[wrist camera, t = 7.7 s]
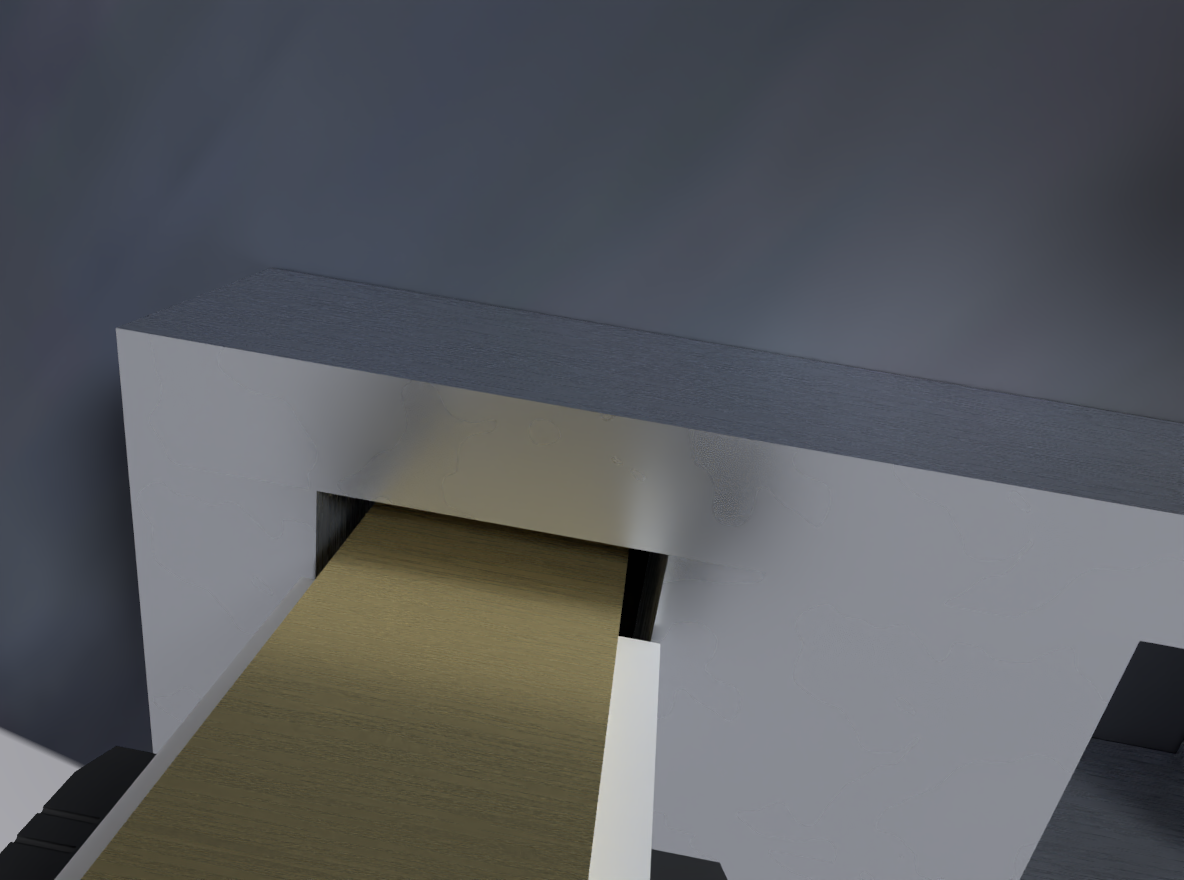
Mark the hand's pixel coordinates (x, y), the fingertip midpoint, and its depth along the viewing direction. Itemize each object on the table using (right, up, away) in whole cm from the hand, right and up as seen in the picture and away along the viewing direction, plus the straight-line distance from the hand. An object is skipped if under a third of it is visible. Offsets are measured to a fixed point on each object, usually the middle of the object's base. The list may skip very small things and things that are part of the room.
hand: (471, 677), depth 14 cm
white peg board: (+7, +1, +5) cm, 9 cm away
